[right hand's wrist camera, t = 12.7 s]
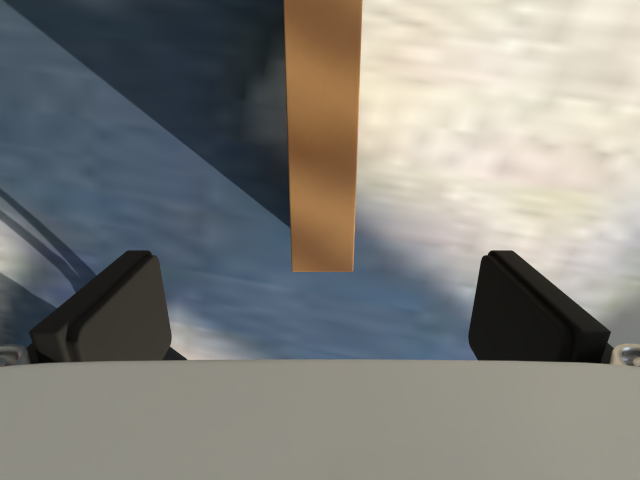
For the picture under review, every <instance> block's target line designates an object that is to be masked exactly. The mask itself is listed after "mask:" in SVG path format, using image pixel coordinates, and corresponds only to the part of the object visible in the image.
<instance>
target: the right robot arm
mask: <svg viewBox="0 0 640 480" xmlns="http://www.w3.org/2000/svg"><path fill="white" fill-rule="evenodd" d="M29 333H30V336H31V339H32V342H33V343H32V344H31V345H29V346H28V347H27V348H25V347H24V346H21V345H19V344H1V345H0V480H640V345H639V344H621V345H619V346H616V347H615V348H613V347H612V346H611V345H609V344H608V343H607V342H608V339H609V336H610V333H611V332H610V331H609V330H608V329H607V328H606V327H604V326H603V325H602V324H601V323H600V322H598V321H597V320H596V319H595V318H594V317H592V316H591V315H590V314H589V313H587V312H586V311H585V310H584V309H583V308H581V307H580V306H579V305H578V304H577V303H575V302H574V301H573V300H572V299H571V298H569V297H568V296H567V295H566V294H564V293H563V292H562V291H561V290H560V289H558V288H557V287H556V286H555V285H554V284H552V283H551V282H550V281H549V280H548V279H546V278H545V277H544V276H543V275H542V274H540V273H539V272H538V271H537V270H535V269H534V268H533V267H532V266H531V265H529V264H528V263H527V262H526V261H525V260H523V259H522V258H521V257H520V256H519V255H517V254H516V253H515V252H514V251H490V252H489V253H488V255H485V256H483V257H482V260H481V264H480V270H479V276H478V282H477V288H476V294H475V300H474V306H473V311H472V317H471V323H470V329H469V336H468V337H469V344H470V347H471V349H472V351H473V352H474V354H475V356H476V357H477V359H478V361H471V360H171V361H162V359H163V357H164V356H165V354H166V352H167V351H168V349H169V347H170V344H171V337H172V336H171V329H170V323H169V317H168V311H167V306H166V300H165V294H164V288H163V282H162V276H161V270H160V264H159V260H158V257H157V256H155V255H152V253H151V252H150V251H126V252H125V253H124V254H123V255H121V256H120V257H119V258H118V259H117V260H115V261H114V262H113V263H112V264H111V265H109V266H108V267H107V268H106V269H105V270H103V271H102V272H101V273H100V274H98V275H97V276H96V277H95V278H94V279H92V280H91V281H90V282H89V283H88V284H86V285H85V286H84V287H83V288H82V289H80V290H79V291H78V292H77V293H76V294H74V295H73V296H72V297H71V298H69V299H68V300H67V301H66V302H65V303H63V304H62V305H61V306H60V307H59V308H57V309H56V310H55V311H54V312H53V313H51V314H50V315H49V316H48V317H46V318H45V319H44V320H43V321H42V322H40V323H39V324H38V325H37V326H36V327H34V328H33V329H32V330H31V331H30V332H29Z"/></svg>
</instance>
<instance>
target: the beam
mask: <svg viewBox="0 0 640 480" xmlns="http://www.w3.org/2000/svg"><path fill="white" fill-rule="evenodd" d="M283 4H284V36H285V68H286V100H287V132H288V164H289V197H290V229H291V261H292V272H353V261H354V231H355V202H356V173H357V144H358V114H359V85H360V56H361V26H362V0H283Z"/></svg>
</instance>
